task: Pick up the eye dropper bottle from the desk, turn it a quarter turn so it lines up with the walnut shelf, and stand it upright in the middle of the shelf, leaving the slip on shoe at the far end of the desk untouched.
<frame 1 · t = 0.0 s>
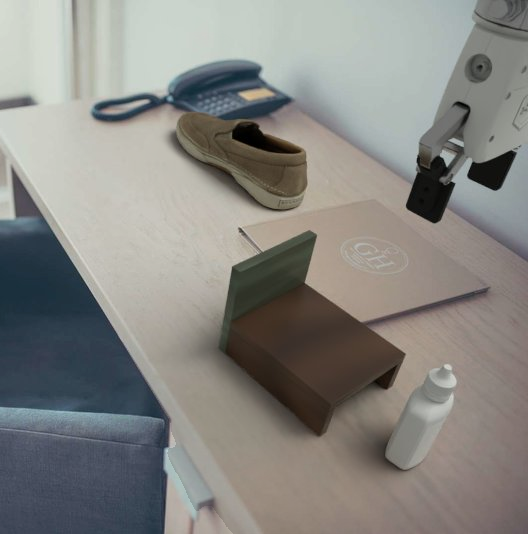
hand: (453, 199, 59), 22 cm above the table, tool pointing down, fingers open, 9 cm apart
slip on shoe: (235, 167, 108), on the table
shelf: (307, 369, 72), on the table
eye dropper bottle: (406, 451, 64), on the table
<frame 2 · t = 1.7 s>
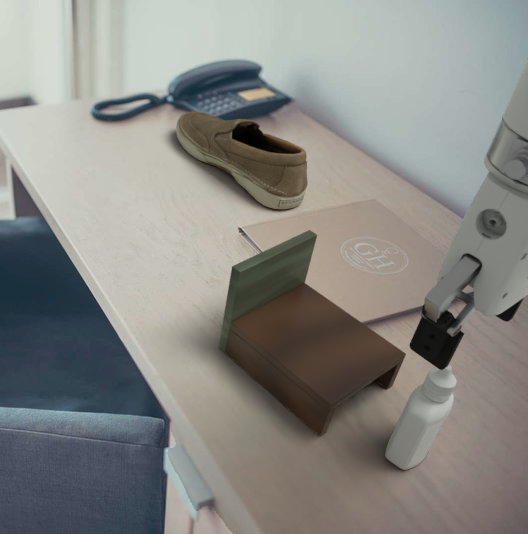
hand: (461, 333, 54), 16 cm above the table, tool pointing down, fingers open, 9 cm apart
nothing on the table moved.
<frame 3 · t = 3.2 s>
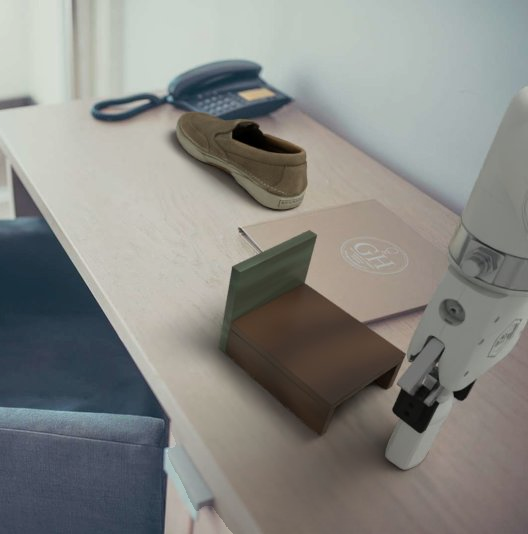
hand: (429, 404, 59), 7 cm above the table, tool pointing down, fingers closed on eye dropper bottle, 5 cm apart
eye dropper bottle: (406, 451, 64), on the table, touching gripper
everything else where it was.
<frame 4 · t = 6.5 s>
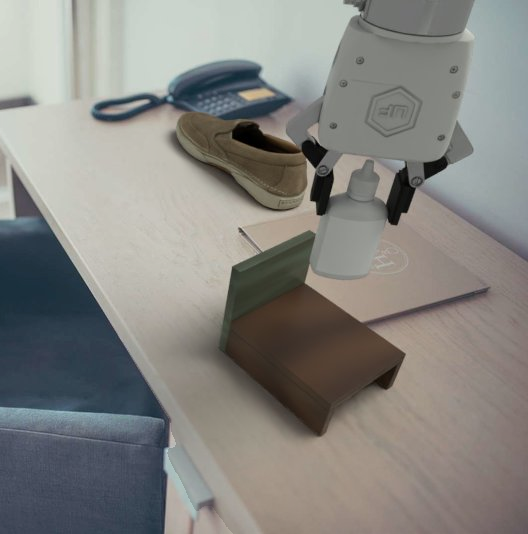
hand: (355, 210, 59), 21 cm above the table, tool pointing down, fingers closed on eye dropper bottle, 5 cm apart
eye dropper bottle: (337, 271, 63), point 14 cm above the table, touching gripper
everything else where it was.
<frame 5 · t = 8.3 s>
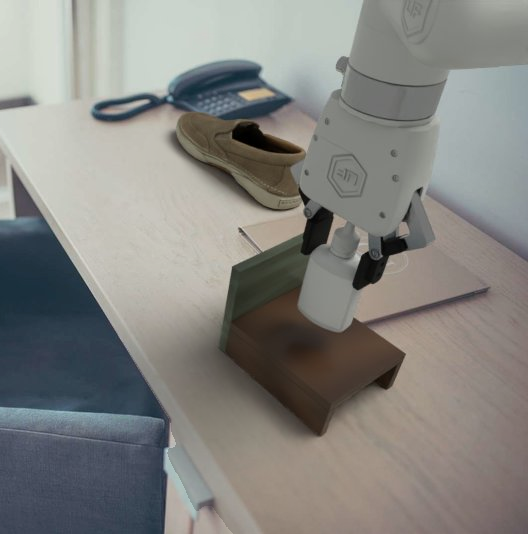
hand: (338, 265, 63), 15 cm above the table, tool pointing down, fingers closed on eye dropper bottle, 5 cm apart
eye dropper bottle: (322, 318, 67), point 8 cm above the table, touching gripper
everything else where it was.
when the fingers open (12 cm above the table, at t = 9.6 s): eye dropper bottle stays where it is, resting on shelf.
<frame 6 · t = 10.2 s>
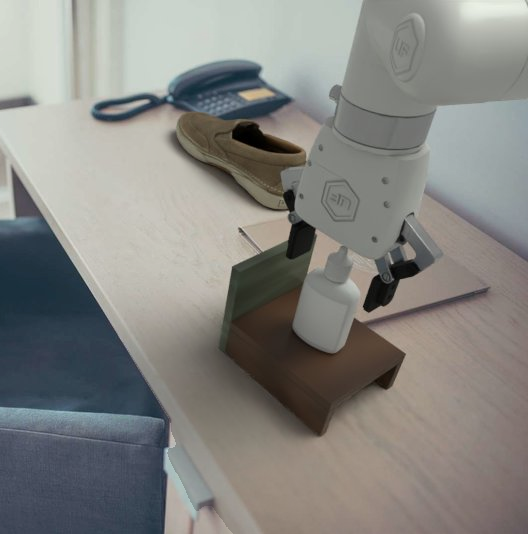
hand: (334, 278, 64), 13 cm above the table, tool pointing down, fingers open, 9 cm apart
eye dropper bottle: (316, 339, 69), point 5 cm above the table, touching shelf
everything else where it was.
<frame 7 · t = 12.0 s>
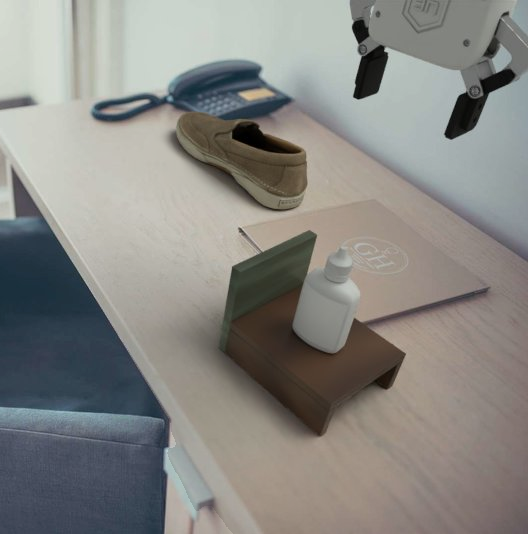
hand: (408, 114, 59), 28 cm above the table, tool pointing down, fingers open, 9 cm apart
nothing on the table moved.
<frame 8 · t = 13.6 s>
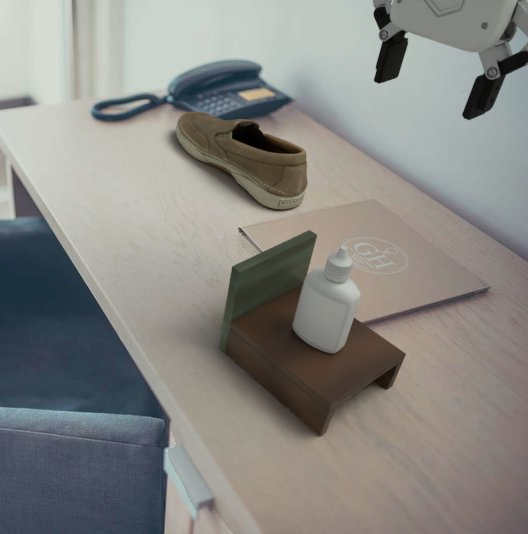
hand: (427, 97, 62), 28 cm above the table, tool pointing down, fingers open, 9 cm apart
nothing on the table moved.
at the end: eye dropper bottle inside the target area on the shelf (0.1 cm from its centre), point 4.8 cm above the shelf's base; eye dropper bottle tilted 0°; slip on shoe moved 0.2 cm from its start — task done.
